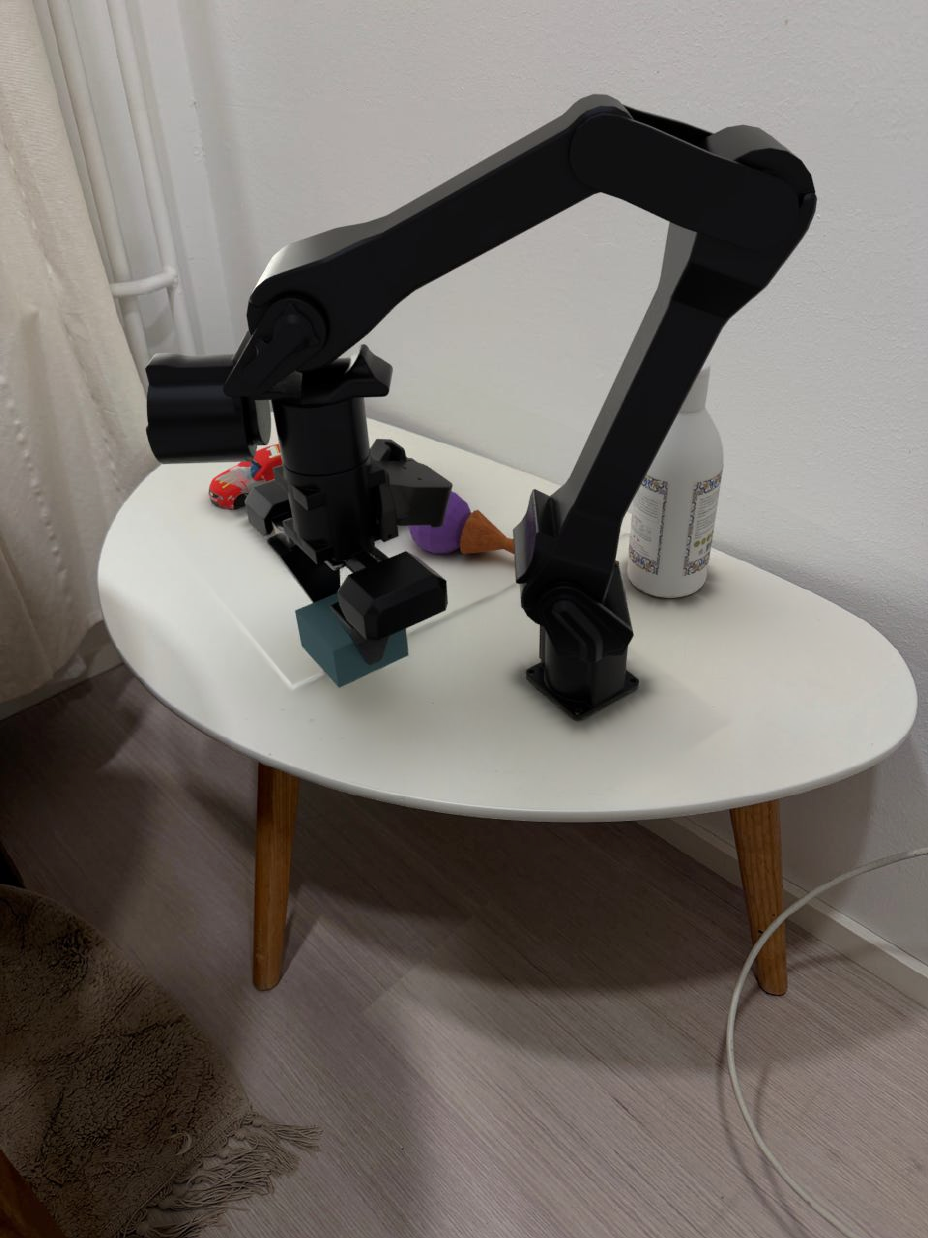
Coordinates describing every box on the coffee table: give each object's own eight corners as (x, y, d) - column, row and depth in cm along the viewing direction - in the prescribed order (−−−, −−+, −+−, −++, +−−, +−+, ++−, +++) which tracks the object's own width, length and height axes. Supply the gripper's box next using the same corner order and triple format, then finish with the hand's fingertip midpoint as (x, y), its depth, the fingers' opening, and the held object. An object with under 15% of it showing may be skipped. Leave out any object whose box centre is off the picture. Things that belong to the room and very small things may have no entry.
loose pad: (409, 655, 69) (405, 619, 67) (339, 688, 67) (332, 651, 64) (368, 616, 73) (364, 581, 71) (301, 646, 71) (294, 610, 68)
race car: (223, 520, 93) (214, 485, 90) (202, 498, 96) (194, 464, 94) (338, 478, 98) (333, 445, 96) (315, 459, 102) (309, 426, 99)
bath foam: (703, 557, 84) (734, 345, 72) (707, 603, 79) (742, 382, 66) (627, 553, 85) (644, 343, 73) (625, 598, 80) (644, 380, 67)
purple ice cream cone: (600, 578, 75) (392, 509, 82) (596, 625, 80) (399, 555, 87) (627, 532, 79) (425, 468, 86) (622, 579, 83) (430, 515, 90)
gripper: (512, 471, 57) (514, 662, 67) (361, 376, 69) (381, 548, 79) (356, 532, 52) (382, 728, 62) (224, 418, 64) (262, 596, 74)
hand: (353, 640), depth 69 cm, fingers closed on loose pad, 6 cm apart
